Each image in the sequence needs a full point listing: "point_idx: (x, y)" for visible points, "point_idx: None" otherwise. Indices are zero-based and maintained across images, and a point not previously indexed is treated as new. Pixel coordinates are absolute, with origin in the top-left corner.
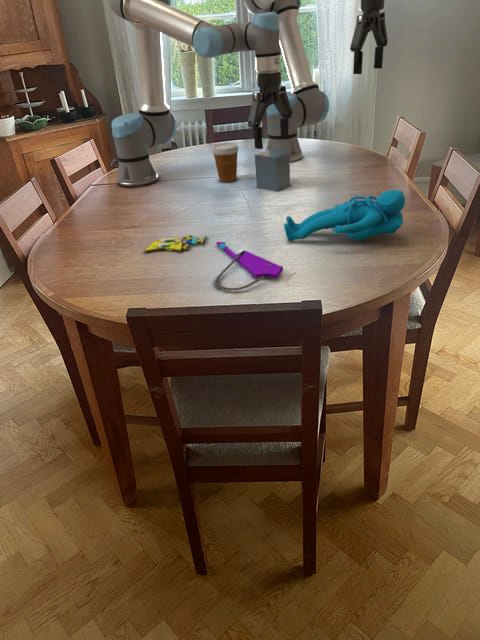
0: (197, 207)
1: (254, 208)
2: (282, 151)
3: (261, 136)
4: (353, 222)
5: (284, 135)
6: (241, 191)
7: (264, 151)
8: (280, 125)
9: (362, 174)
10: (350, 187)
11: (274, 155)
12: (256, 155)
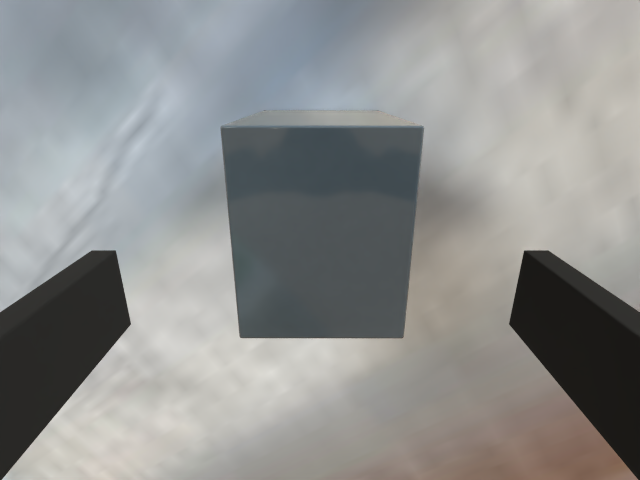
0: None
1: None
2: (400, 285)
3: (47, 409)
4: None
5: (534, 315)
6: (167, 78)
7: (342, 145)
8: (629, 331)
9: None
10: (447, 438)
11: (277, 299)
12: (222, 148)
